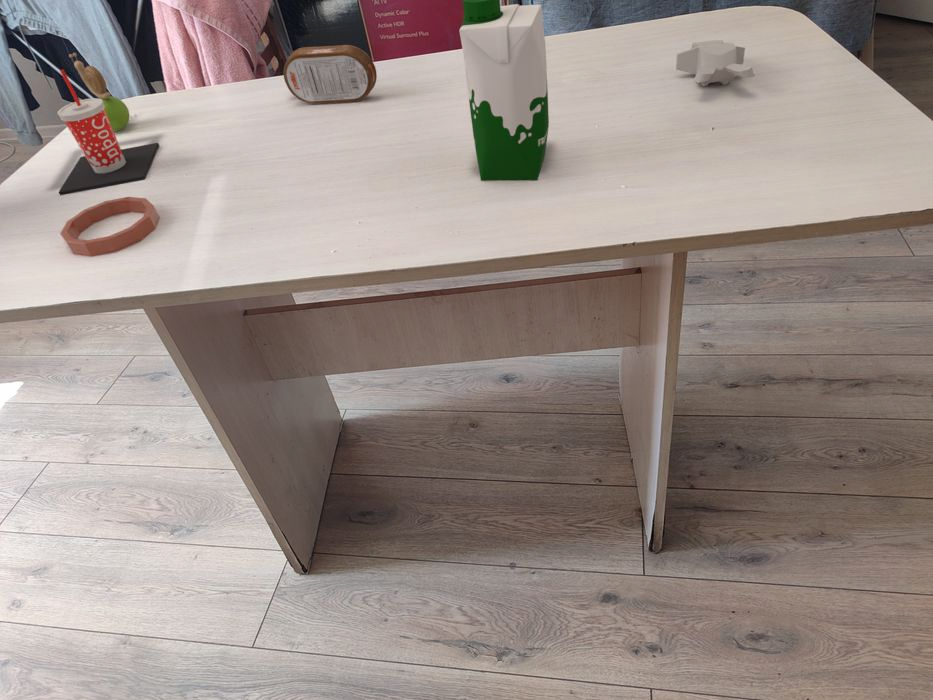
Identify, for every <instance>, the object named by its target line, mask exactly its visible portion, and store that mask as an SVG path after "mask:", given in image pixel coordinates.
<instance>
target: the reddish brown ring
mask: <svg viewBox="0 0 933 700" xmlns="http://www.w3.org/2000/svg"><path fill="white" fill-rule="evenodd" d="M128 213H129V214H130V213H137V214H143V216H142V217H141V218H140V219H138V220H137V221H136V222H134V223H133V224H132V225H131V226H129V227H126V228H124V229H122V230H120V231H117V232H115V233H113V234H111V235H107V236H102V237H97V238H91V239H81V238H79V236H80V234H82V233H83V232H85V230H87V229H88V228H90V227H91V226H93V225H94V224H96V223H98V222H101V221H103V220H105V219H108V218H110V217H113V216H118V215H123V214H128ZM159 220H160V216H159V214H158V212H157V210H156V207H155V205H154V204H153V203H151V201H150V200H148V198H146V197H137V196H125V197H119V198H114V199H110V200H105V201H102V202H100V203H97V204H95V205H92V206H90V207H87V208H85V209H83V210H81V211H80V212H79V213H77V214H76V215H74V216H73V217H71V218H70V219H68V220H67V221H66V222H65V224H64V226H63V228H61V231H60V233H59V234H60V237H61V238H62V240H63V241H64V243H65V245H66V246H67V248H68V249H69V250H70V251H71V253H72V255H75V256H83V257H91V258H92V257H97V256H103V255H108V254H112V253H113V254H114V253H116V252H120V251H121V250H124V249H127V248H129V247H130V246H133V245H135V244H137V243H140V242H141V241H143V240H144V239H145V238H146V237H147V236H149V235H150V234H151V233H152V232H153V231H155V230H156V228H157V227H158V226H157V225H158V223H159Z"/></svg>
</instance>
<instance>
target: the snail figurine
mask: <svg viewBox="0 0 933 700" xmlns="http://www.w3.org/2000/svg"><path fill="white" fill-rule="evenodd" d="M77 56H78V54H77V53H76V52H73V53H72V54H71V53H70V54H69V55H68V57H69V58H70V59H71V60H72V62H73V65H74V68H75V69H76V70H77V72H78V74H79V76H80V78H81V80H82V82H83V83H84V84H85V86H86V88H88V90H89V91H90V92H91V94H93V95H95V96H96V97H97V98H98V99H101V100H102V101H103V102H104V106H105V108H104V109H105V112H106V114H107V117H108V119H109V122H110V124H111V126H112V129H113V131H114V132H117V131H121V130H123V129H124V128H125V127H126V126H127V125H128V124H129V122H130V110H129V107H128V106H127V105H126V104H125V102H124V101H123V100H121V99H120V98H117V97H115V96H111V92H110V91H107V82H106V80H105V77H104V76H103V74H102V73H101V72H100V70H99V69H98V68H97V67H95V66H93V65H87V66H86V67H85V65H84V63H83V62H82V61H80V60H78V58H77ZM73 57H75V59H76V60H75V61H74V59H73Z"/></svg>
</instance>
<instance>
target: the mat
mask: <svg viewBox="0 0 933 700" xmlns="http://www.w3.org/2000/svg"><path fill="white" fill-rule="evenodd" d="M159 148H160V144H159V142H154V143H148V144H143V145H138V146H132V147H127V148H121V151H122V153H123V156H124V158H125V160H126V163H125V165H124V166H122V167H121V168H119V169H117V170H115V171H112V172H108V173H95V171H94V170H93V168H92V166H91V165H90V163H89V161H88V160H87V158H86V156H85V155H83V156H80V157H79V159H78V160H77V162H76V163H75V165H74V167H73V168H72V169H71V172H70V173H69V175H68V176H67V178H66V179H65V181H64V183H63V184H62V185H61V187H60V188H59V191H58V194H59V196H64V195H69V194H74V193H79V192H84V191H85V192H86V191H91V190H96V189H101V188H106V187H111V186H116V185H123V184H127V183H133V182H137V181H139V182H140V181H143V180H146V177H147V175H148V173H149V171H150V168H151V165H152V163H153V161H154V158H155V156H156V154H157V152H158V150H159Z"/></svg>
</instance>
